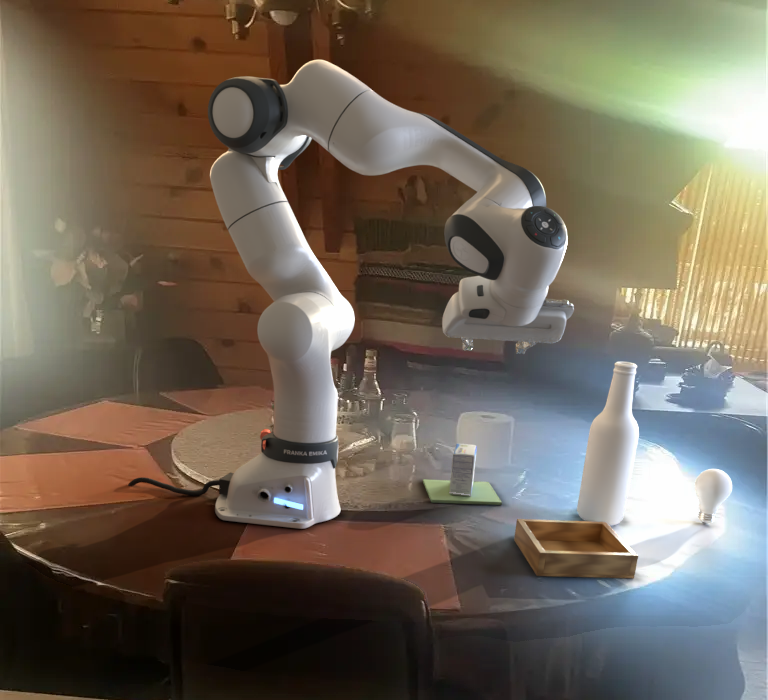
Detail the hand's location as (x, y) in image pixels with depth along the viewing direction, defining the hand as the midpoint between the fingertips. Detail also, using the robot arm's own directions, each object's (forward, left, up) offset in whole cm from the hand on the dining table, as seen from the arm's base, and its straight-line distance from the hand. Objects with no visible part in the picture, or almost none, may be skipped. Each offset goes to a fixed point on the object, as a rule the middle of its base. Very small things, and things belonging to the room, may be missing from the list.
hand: (493, 349), depth 132 cm
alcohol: (+25, +1, -32) cm, 40 cm away
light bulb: (+46, 0, -32) cm, 56 cm away
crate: (+13, -18, -31) cm, 38 cm away
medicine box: (0, +13, -31) cm, 33 cm away
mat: (0, +12, -31) cm, 34 cm away
